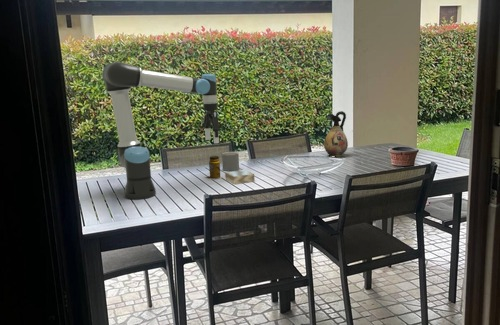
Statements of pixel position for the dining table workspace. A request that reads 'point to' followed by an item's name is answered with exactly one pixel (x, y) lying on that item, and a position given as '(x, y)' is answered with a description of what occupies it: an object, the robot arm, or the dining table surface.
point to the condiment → (214, 168)
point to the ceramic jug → (336, 137)
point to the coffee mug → (230, 161)
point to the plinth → (239, 176)
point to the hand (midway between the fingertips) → (212, 141)
